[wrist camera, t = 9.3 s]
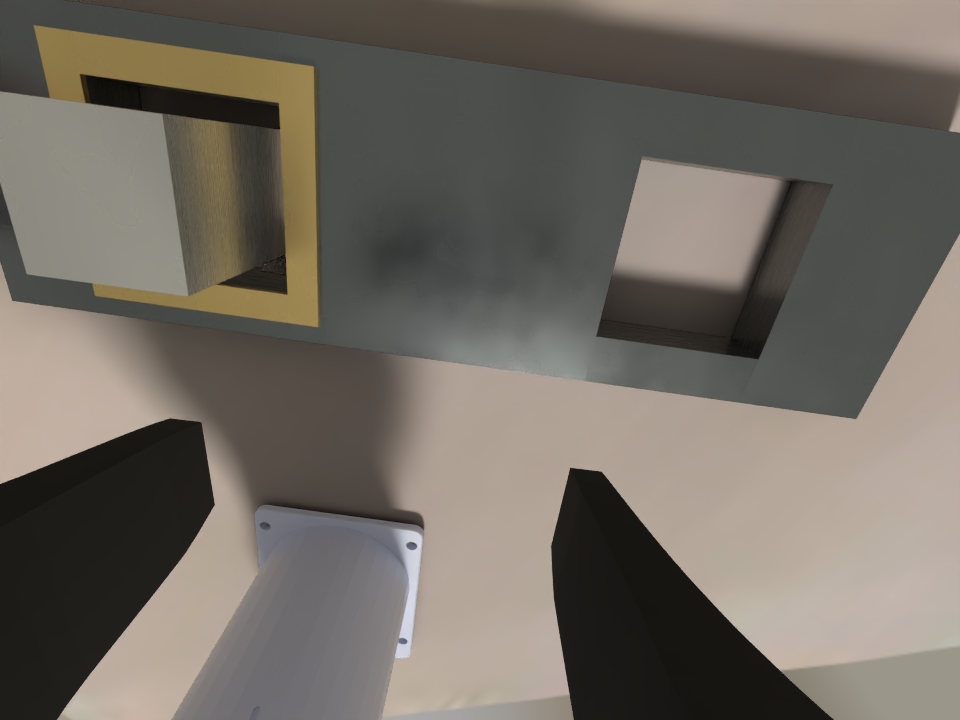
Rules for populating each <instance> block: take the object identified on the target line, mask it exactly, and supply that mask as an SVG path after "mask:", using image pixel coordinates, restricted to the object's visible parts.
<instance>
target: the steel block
mask: <svg viewBox="0 0 960 720" xmlns="http://www.w3.org/2000/svg"><path fill="white" fill-rule="evenodd" d="M0 184H1V187H2V191H3V194H4V198H5V201H6V204H7V208H8V211H9V215H10V218H11V222H12V225H13V228H14V232H15V235H16V239H17V242H18V246H19V249H20V252H21V256H22V259H23V263H24V266H25V270H26V273H27V274H28V275H36V276H43V277H50V278H57V279H65V280H72V281H79V282H87V283H94V284H101V285H108V286H116V287H123V288H130V289H137V290H145V291H152V292H159V293H167V294H174V295H181V296H191V295H193V294H195V293H198V292H200V291H202V290H204V289H207V288H209V287H211V286H214V285H216V284H218V283H221V282H223V281H225V280H227V279H230V278H232V277H234V276H237V275H239V274H241V273H244V272H246V271H248V270H250V269H253V268H255V267H257V266H260V265H262V264H264V263H266V262H269V261H271V260H273V259H276V258H278V257H280V256H283V255H285V254H286V248H285V225H284V203H283V181H282V159H281V137H280V130H278V129H271V128H264V127H257V126H250V125H243V124H236V123H229V122H222V121H215V120H207V119H200V118H193V117H186V116H179V115H172V114H165V113H157V112H150V111H143V110H135V109H128V108H120V107H113V106H105V105H98V104H91V103H83V102H76V101H68V100H61V99H54V98H46V97H39V96H31V95H24V94H17V93H9V92H2V91H0Z"/></svg>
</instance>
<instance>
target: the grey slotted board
mask: <svg viewBox="0 0 960 720" xmlns="http://www.w3.org/2000/svg"><path fill="white" fill-rule="evenodd" d="M138 86H144V87H151V88H158V89H165V90H171V91H178V92H185V93H192V94H199V95H206V96H212V97H219V98H226V99H233V100H240V101H247V102H254V103H260V104H267V105H274V106H279V115H280V137H281V159H282V181H283V203H284V225H285V248H286V270H287V275H282V274H275V273H268V272H261V271H254V270H248V271H246V272H244V273H241V274H239V275H237V276H234V277H232V278H230V279H227V280H225V281H223V282H221V283H218V284H216V285H214V286H211V287H209V288H207V289H204V290H202V291H200V292H198V293H195V294H193V295H191V296H181V295H174V294H167V293H159V292H152V291H145V290H137V289H130V288H123V287H116V286H108V285H101V284H94V283H87V282H79V281H72V280H65V279H57V278H50V277H43V276H36V275H28V274H27V273H26V270H25V266H24V263H23V259H22V256H21V252H20V249H19V246H18V242H17V239H16V235H15V232H14V228H13V225H12V222H11V218H10V215H9V211H8V208H7V204H6V201H5V198H4V194H3V191H2V187H1V184H0V262H1V265H2V268H3V272H4V275H5V278H6V281H7V285H8V288H9V291H10V294H11V298H12V301H18V302H25V303H32V304H40V305H47V306H54V307H61V308H68V309H75V310H82V311H89V312H97V313H104V314H111V315H118V316H125V317H132V318H139V319H147V320H154V321H161V322H168V323H175V324H182V325H189V326H197V327H204V328H211V329H218V330H225V331H232V332H239V333H246V334H254V335H261V336H268V337H275V338H282V339H289V340H296V341H304V342H311V343H318V344H325V345H332V346H339V347H346V348H353V349H361V350H368V351H375V352H382V353H389V354H396V355H403V356H411V357H418V358H425V359H432V360H439V361H446V362H453V363H460V364H468V365H475V366H482V367H489V368H496V369H503V370H510V371H518V372H525V373H532V374H539V375H546V376H553V377H560V378H567V379H575V380H582V381H589V382H596V383H603V384H610V385H617V386H625V387H632V388H639V389H646V390H653V391H660V392H667V393H674V394H682V395H689V396H696V397H703V398H710V399H717V400H724V401H732V402H739V403H746V404H753V405H760V406H767V407H774V408H782V409H789V410H796V411H803V412H810V413H817V414H824V415H831V416H839V417H846V418H853V419H856V418H857V417H858V415H859V413H860V411H861V410H862V408H863V406H864V404H865V402H866V401H867V399H868V397H869V395H870V393H871V392H872V390H873V388H874V386H875V384H876V383H877V381H878V379H879V377H880V375H881V374H882V372H883V370H884V368H885V366H886V365H887V363H888V361H889V359H890V358H891V356H892V354H893V352H894V350H895V349H896V347H897V345H898V343H899V341H900V340H901V338H902V336H903V334H904V332H905V331H906V329H907V327H908V325H909V323H910V322H911V320H912V318H913V316H914V314H915V313H916V311H917V309H918V307H919V306H920V304H921V302H922V300H923V298H924V297H925V295H926V293H927V291H928V289H929V288H930V286H931V284H932V282H933V280H934V279H935V277H936V275H937V273H938V271H939V270H940V268H941V266H942V264H943V262H944V261H945V259H946V257H947V255H948V254H949V252H950V250H951V248H952V246H953V245H954V243H955V241H956V239H957V237H958V236H959V234H960V133H957V132H950V131H944V130H937V129H930V128H923V127H917V126H910V125H903V124H896V123H890V122H883V121H876V120H869V119H863V118H856V117H849V116H842V115H836V114H829V113H822V112H815V111H809V110H802V109H795V108H788V107H782V106H775V105H768V104H761V103H755V102H748V101H741V100H734V99H728V98H721V97H714V96H707V95H701V94H694V93H687V92H680V91H674V90H667V89H660V88H654V87H647V86H640V85H633V84H627V83H620V82H613V81H606V80H600V79H593V78H586V77H579V76H573V75H566V74H559V73H552V72H546V71H539V70H532V69H525V68H519V67H512V66H505V65H498V64H492V63H485V62H478V61H471V60H465V59H458V58H451V57H444V56H438V55H431V54H424V53H417V52H411V51H404V50H397V49H390V48H384V47H377V46H370V45H363V44H357V43H350V42H343V41H336V40H330V39H323V38H316V37H309V36H303V35H296V34H289V33H282V32H276V31H269V30H262V29H255V28H249V27H242V26H235V25H228V24H222V23H215V22H208V21H201V20H195V19H188V18H181V17H174V16H168V15H161V14H154V13H147V12H141V11H134V10H127V9H120V8H114V7H107V6H100V5H93V4H87V3H80V2H73V1H66V0H0V91H2V92H9V93H17V94H24V95H31V96H39V97H46V98H54V99H61V100H68V101H76V102H83V103H91V104H98V105H105V106H113V107H120V108H128V109H135V110H141V103H140V97H139V91H138ZM641 159H643V160H650V161H657V162H664V163H671V164H677V165H684V166H691V167H698V168H705V169H712V170H719V171H725V172H732V173H739V174H746V175H753V176H760V177H766V178H773V179H780V180H787V181H793V182H792V184H791V187H790V189H789V192H788V195H787V197H786V200H785V202H784V205H783V207H782V210H781V213H780V215H779V218H778V220H777V223H776V225H775V228H774V230H773V233H772V236H771V238H770V241H769V243H768V246H767V248H766V251H765V254H764V256H763V259H762V261H761V264H760V266H759V269H758V271H757V274H756V277H755V279H754V282H753V284H752V287H751V289H750V292H749V295H748V297H747V300H746V302H745V305H744V307H743V310H742V312H741V315H740V318H739V320H738V323H737V325H736V328H735V330H734V333H733V335H732V338H727V337H720V336H713V335H705V334H698V333H691V332H684V331H677V330H670V329H663V328H656V327H649V326H642V325H635V324H628V323H621V322H614V321H607V320H600V319H601V315H602V311H603V308H604V304H605V300H606V296H607V292H608V288H609V284H610V280H611V276H612V272H613V269H614V265H615V261H616V257H617V253H618V249H619V245H620V241H621V237H622V234H623V230H624V226H625V222H626V218H627V214H628V210H629V206H630V202H631V198H632V195H633V191H634V187H635V183H636V179H637V175H638V171H639V167H640V163H641Z"/></svg>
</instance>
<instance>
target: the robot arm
mask: <svg viewBox="0 0 960 720" xmlns="http://www.w3.org/2000/svg"><path fill="white" fill-rule="evenodd" d="M214 505H215V504H214V497H213V491H212V485H211V479H210V473H209V467H208V460H207V454H206V448H205V442H204V436H203V429H202V423H201V422H194V421H186V420H178V419H167V420H164V421H161V422H158V423H155V424H152V425H149V426H146V427H143V428H141V429H138V430H135V431H133V432H130V433H128V434H125V435H123V436H120V437H117V438H115V439H112V440H110V441H107V442H105V443H102V444H100V445H98V446H95V447H93V448H90V449H88V450H85V451H83V452H80V453H78V454H75V455H73V456H70V457H68V458H65V459H63V460H60V461H58V462H55V463H53V464H50V465H48V466H45V467H43V468H40V469H38V470H35V471H33V472H30V473H28V474H25V475H23V476H20V477H18V478H15V479H12V480H10V481H7V482H4V483H2V484H0V720H57V719H58V717H59V716H60V714H61V713H62V711H63V710H64V708H65V707H66V705H67V704H68V703H69V701H70V700H71V699H72V697H73V696H74V695H75V693H76V692H77V691H78V689H79V688H80V687H81V685H82V684H83V683H84V681H85V680H86V679H87V677H88V676H89V675H90V673H91V672H92V671H93V670H94V668H95V667H96V666H97V665H98V663H99V662H100V661H101V660H102V658H103V657H104V656H105V655H106V653H107V652H108V651H109V649H110V648H111V647H112V646H113V644H114V643H115V642H116V641H117V639H118V638H119V637H120V636H121V634H122V633H123V632H124V631H125V629H126V628H127V627H128V626H129V624H130V623H131V622H132V621H133V619H134V618H135V617H136V616H137V614H138V613H139V612H140V611H141V609H142V608H143V607H144V606H145V604H146V603H147V602H148V601H149V599H150V598H151V597H152V596H153V594H154V593H155V592H156V590H157V589H158V588H159V587H160V585H161V584H162V583H163V581H164V580H165V579H166V578H167V576H168V575H169V574H170V573H171V571H172V570H173V569H174V567H175V566H176V565H177V564H178V562H179V561H180V560H181V558H182V557H183V556H184V554H185V553H186V551H187V550H188V548H189V547H190V545H191V543H192V542H193V540H194V539H195V537H196V536H197V534H198V532H199V531H200V529H201V527H202V526H203V524H204V522H205V521H206V519H207V517H208V515H209V514H210V512H211V510H212V509H213V507H214ZM266 522H267V523H268V524H267V523H266ZM255 526H256V537H257V547H258V557H259V568H260V571H259V573H258V574H257V576H256V578H255V579H254V581H253V583H252V584H251V586H250V588H249V589H248V591H247V593H246V595H245V596H244V598H243V600H242V601H241V603H240V605H239V606H238V608H237V610H236V611H235V613H234V615H233V617H232V618H231V620H230V622H229V623H228V625H227V627H226V628H225V630H224V632H223V633H222V635H221V637H220V639H219V640H218V642H217V644H216V645H215V647H214V649H213V650H212V652H211V654H210V655H209V657H208V659H207V660H206V662H205V664H204V666H203V667H202V669H201V671H200V672H199V674H198V676H197V677H196V679H195V681H194V682H193V684H192V686H191V688H190V689H189V691H188V693H187V694H186V696H185V698H184V699H183V701H182V703H181V704H180V706H179V708H178V709H177V711H176V713H175V715H174V716H173V718H172V720H381V719H382V714H383V709H384V705H385V700H386V696H387V691H388V686H389V682H390V677H391V673H392V668H393V663H394V659H395V657H396V658H407V657H408V656H410V654H411V649H412V641H413V631H414V622H415V613H416V604H417V595H418V585H419V576H420V567H421V558H422V548H423V539H424V531H423V529H422V528H421V527H419V526H417V525H412V524H405V523H398V522H390V521H383V520H376V519H368V518H361V517H353V516H346V515H339V514H331V513H324V512H317V511H309V510H302V509H295V508H287V507H280V506H272V505H262V506H260V507H259V508H258V510H257V511H256V512H255ZM410 542H414V543H416V544H412V543H410ZM551 551H552V573H553V590H554V601H555V608H556V614H557V621H558V627H559V633H560V639H561V645H562V651H563V657H564V663H565V669H566V675H567V681H568V687H569V693H570V699H571V705H572V711H573V717H574V720H833V719H832V718H831V717H830V716H829V715H828V714H827V713H825V712H824V711H823V710H822V709H821V708H820V707H819V706H817V705H816V704H815V703H814V702H813V701H812V700H811V699H810V698H809V697H808V696H806V695H805V694H804V693H803V692H802V691H801V690H800V689H799V688H798V687H797V686H795V685H794V684H793V683H792V682H791V681H790V680H789V679H788V678H787V677H786V676H785V675H784V674H783V673H782V672H781V671H780V670H779V669H778V668H777V667H776V666H774V665H773V664H772V663H771V662H770V661H769V660H768V659H767V658H766V657H765V656H764V655H763V654H762V653H761V652H760V651H759V650H758V649H757V648H756V647H755V646H754V645H753V644H752V643H750V642H749V641H748V640H747V639H746V638H745V637H744V636H743V635H742V634H741V633H740V632H739V631H738V630H737V629H736V628H735V627H734V626H733V625H732V624H731V623H730V622H729V620H728V619H727V618H726V617H725V616H724V615H723V614H722V613H721V612H720V611H719V610H718V609H717V608H716V607H715V606H714V605H713V603H712V602H711V601H710V600H709V599H708V598H707V597H706V596H705V595H704V594H703V593H702V592H701V591H700V590H699V588H698V587H697V586H696V585H695V584H694V583H693V582H692V581H691V580H690V579H689V577H688V576H687V575H686V574H685V573H684V572H683V571H682V570H681V568H680V567H679V566H678V565H677V564H676V563H675V562H674V560H673V559H672V558H671V557H670V556H669V555H668V553H667V552H666V551H665V550H664V549H663V548H662V546H661V545H660V544H659V543H658V542H657V540H656V539H655V538H654V537H653V536H652V534H651V533H650V532H649V531H648V529H647V528H646V527H645V526H644V525H643V523H642V522H641V521H640V520H639V518H638V517H637V516H636V515H635V513H634V512H633V511H632V510H631V508H630V507H629V506H628V505H627V503H626V502H625V501H624V499H623V498H622V497H621V496H620V494H619V493H618V492H617V490H616V489H615V488H614V487H613V485H612V484H611V483H610V482H609V480H608V479H607V478H606V477H605V475H604V474H603V473H602V472H599V471H591V470H583V469H575V468H570V471H569V475H568V480H567V484H566V488H565V492H564V496H563V500H562V504H561V508H560V512H559V516H558V521H557V525H556V529H555V533H554V537H553V541H552V545H551Z"/></svg>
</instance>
